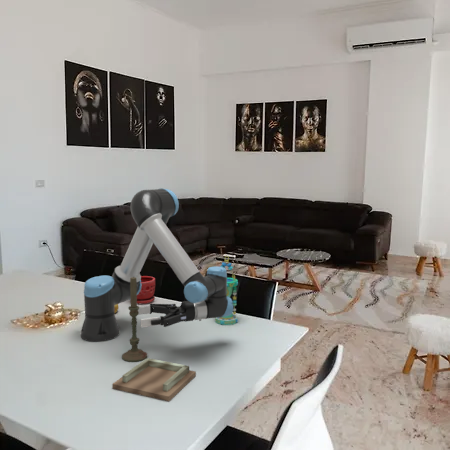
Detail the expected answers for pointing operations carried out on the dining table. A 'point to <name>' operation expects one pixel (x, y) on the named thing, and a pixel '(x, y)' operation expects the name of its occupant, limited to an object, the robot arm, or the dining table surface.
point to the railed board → (155, 379)
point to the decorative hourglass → (230, 286)
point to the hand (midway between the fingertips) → (136, 317)
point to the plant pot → (146, 290)
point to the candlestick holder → (134, 327)
